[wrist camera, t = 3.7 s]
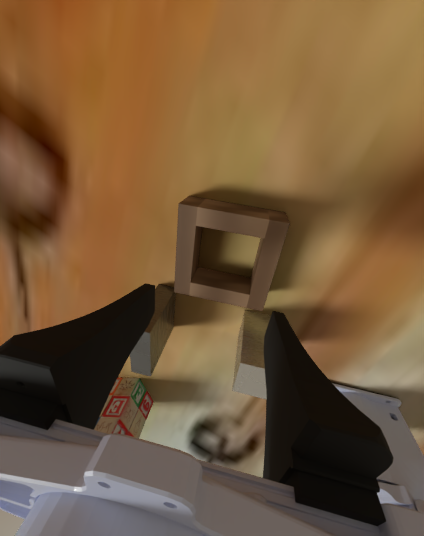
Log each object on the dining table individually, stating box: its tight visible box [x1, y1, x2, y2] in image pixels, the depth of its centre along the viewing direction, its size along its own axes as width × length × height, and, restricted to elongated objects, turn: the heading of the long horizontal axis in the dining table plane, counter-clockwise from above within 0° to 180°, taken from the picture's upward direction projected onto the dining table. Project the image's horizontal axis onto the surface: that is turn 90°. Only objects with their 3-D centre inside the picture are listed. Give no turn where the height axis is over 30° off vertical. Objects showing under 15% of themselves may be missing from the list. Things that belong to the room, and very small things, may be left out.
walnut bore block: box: [174, 196, 290, 311], centre depth 20 cm, size 8×8×3 cm
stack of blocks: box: [94, 378, 153, 438], centre depth 34 cm, size 21×6×12 cm, turn 105°
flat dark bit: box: [130, 284, 176, 376], centre depth 24 cm, size 2×6×7 cm, turn 173°
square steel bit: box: [232, 310, 271, 399], centre depth 23 cm, size 4×4×7 cm
